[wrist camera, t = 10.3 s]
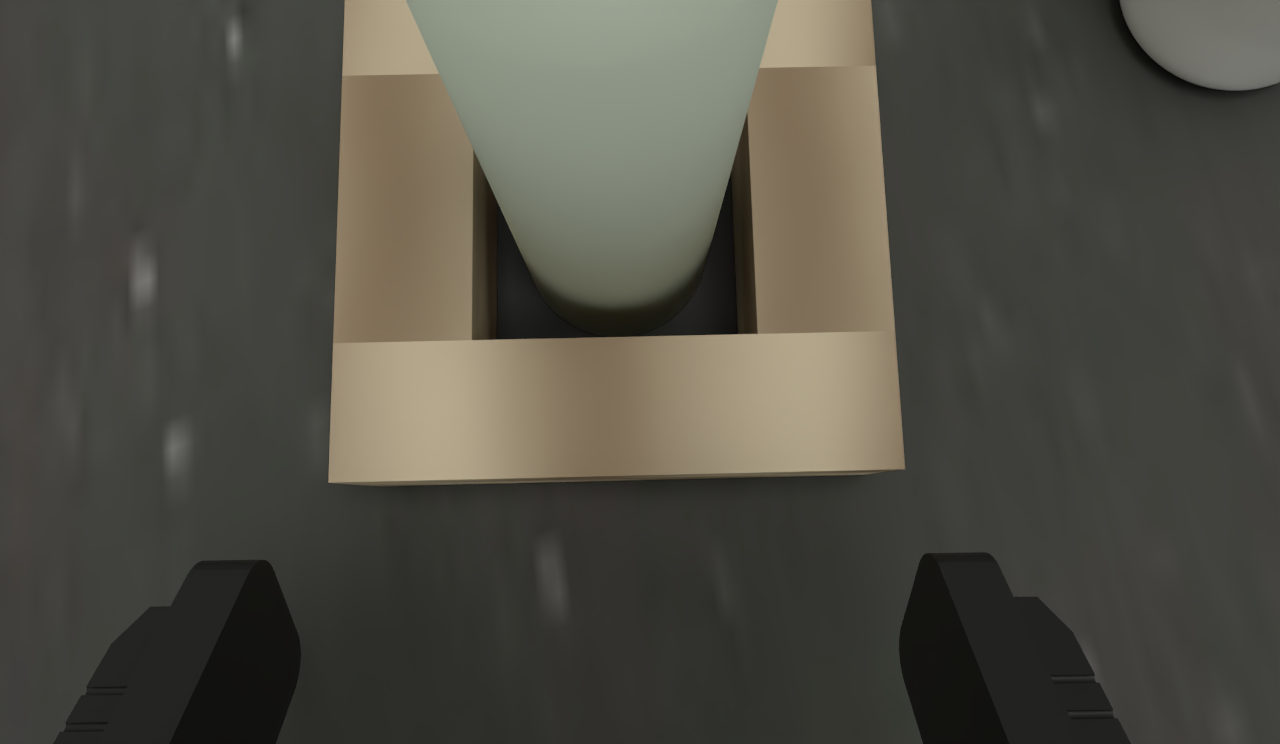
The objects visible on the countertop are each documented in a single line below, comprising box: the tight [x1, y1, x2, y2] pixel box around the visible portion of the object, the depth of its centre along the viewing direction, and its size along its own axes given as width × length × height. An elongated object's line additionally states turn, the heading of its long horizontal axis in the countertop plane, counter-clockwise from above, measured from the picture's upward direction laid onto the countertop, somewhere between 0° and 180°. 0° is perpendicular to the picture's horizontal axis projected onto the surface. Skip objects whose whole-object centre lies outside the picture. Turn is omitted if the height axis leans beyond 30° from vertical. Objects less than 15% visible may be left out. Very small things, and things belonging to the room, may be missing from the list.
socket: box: [328, 0, 905, 486], centre depth 18 cm, size 11×11×3 cm
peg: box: [406, 0, 778, 337], centre depth 14 cm, size 4×4×12 cm
